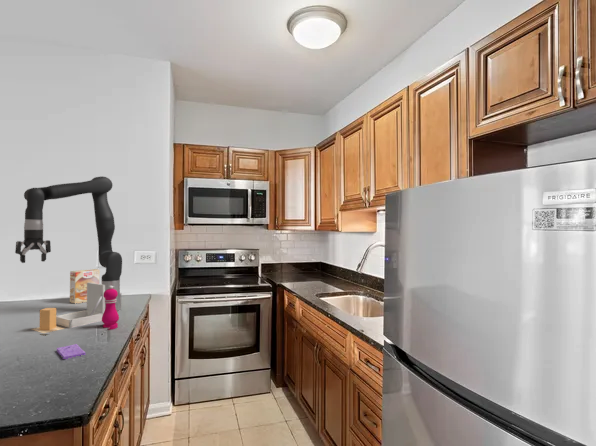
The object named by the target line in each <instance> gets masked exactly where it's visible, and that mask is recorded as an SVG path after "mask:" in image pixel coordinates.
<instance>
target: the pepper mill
mask: <svg viewBox="0 0 596 446" xmlns="http://www.w3.org/2000/svg"><path fill="white" fill-rule="evenodd" d="M112 288H113V286H109V289H107V290H106V291H105V292H104V298H105V303H106V307H105V311H104V313H103V316H102V321H101V322H102V323H103V324H102V328H104V329H106V330H110V331H111V330H115V329H116V330H117V328H118V326H119V325H118V324H119V323H118V321H119V318H120V317H119V313H118V311H117V310H116V307H115V303H116V300H117V299H116V297H117V296H118V292H117V291H116V290H115V289H112Z"/></svg>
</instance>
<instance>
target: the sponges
mask: <svg viewBox="0 0 596 446" xmlns="http://www.w3.org/2000/svg"><path fill="white" fill-rule="evenodd" d="M56 352H57V353H58V355H59V356H60V355H61V356H62V357H63V358H62V357H61V356H60V357H61V358H62V360H63V359H67V360H69V359H68V358H71V359H73V358H72V357H76V356H80V357H82V356H81V355H85V356H86V351H84V350H83V349H82V348H81V347H80V345H78V344H77V343H74V344H70V345H65V346H59V347H56ZM76 358H77V357H76Z"/></svg>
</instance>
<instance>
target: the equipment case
mask: <svg viewBox="0 0 596 446" xmlns="http://www.w3.org/2000/svg"><path fill="white" fill-rule="evenodd" d="M104 292H105V285H102V283H99V284H96V283H87V302H86V310H85V309H84V310H80V311H75V312H70V313H69V312H68V313H65V314H58V315H56V326H60V327H63V328H68V329H73V328H76V327H82V326H85V325H89V324H93V323H94V324H95V323H99V322H102V316H103V313H104V311H105V298H104Z"/></svg>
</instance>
